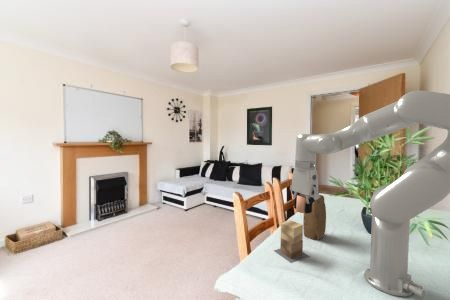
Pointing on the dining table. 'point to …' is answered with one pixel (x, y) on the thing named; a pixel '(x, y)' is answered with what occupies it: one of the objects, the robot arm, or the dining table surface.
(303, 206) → the peach egg-shaped pebble
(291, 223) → the tower top
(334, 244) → the dining table surface
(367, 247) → the dining table surface
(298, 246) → the block
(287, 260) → the mat
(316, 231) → the block
